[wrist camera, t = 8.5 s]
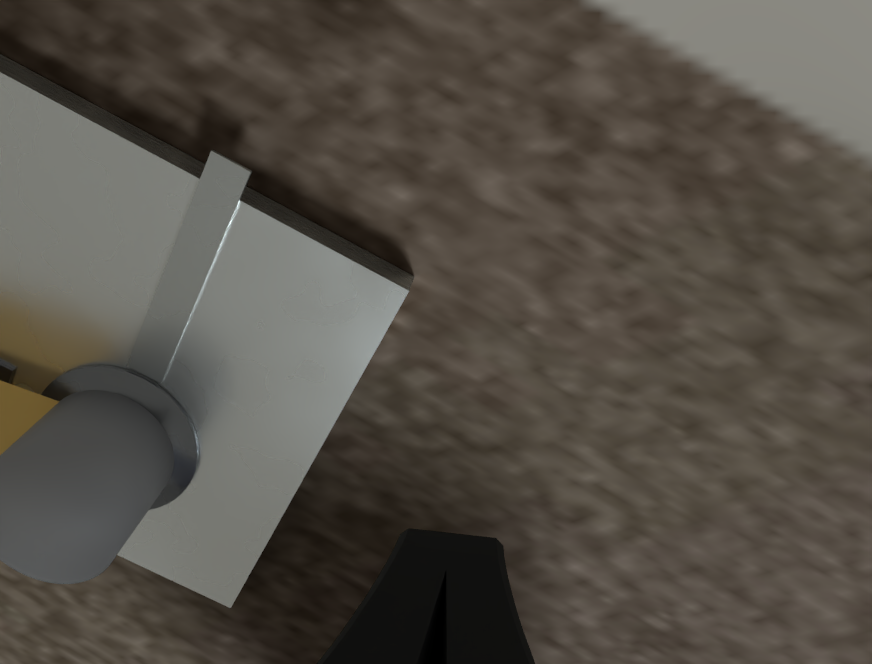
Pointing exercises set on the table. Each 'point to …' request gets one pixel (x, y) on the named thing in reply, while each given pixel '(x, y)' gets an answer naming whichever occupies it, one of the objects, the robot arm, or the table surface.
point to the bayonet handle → (75, 479)
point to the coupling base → (180, 317)
